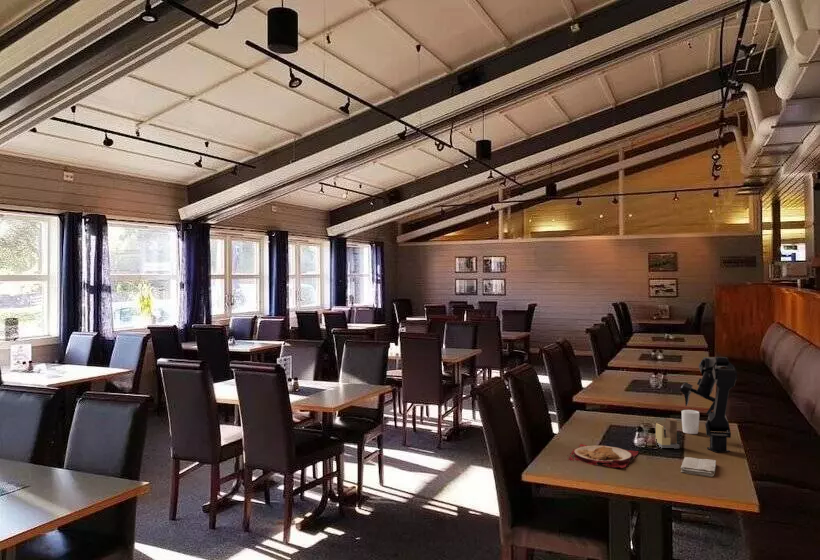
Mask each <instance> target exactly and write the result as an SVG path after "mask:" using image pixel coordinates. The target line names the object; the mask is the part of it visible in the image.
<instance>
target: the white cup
mask: <svg viewBox="0 0 820 560" xmlns="http://www.w3.org/2000/svg"><path fill="white" fill-rule="evenodd" d="M680 412H681V427H682V432H683V433H684V434H689V435H697V434H698V433H699V425H700V411H698V410H695V409H694V410H693V409H683V410H681V411H680Z"/></svg>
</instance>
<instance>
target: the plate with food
mask: <svg viewBox="0 0 820 560" xmlns="http://www.w3.org/2000/svg"><path fill="white" fill-rule="evenodd" d="M638 454H639V451H638V450H637V451H636V450H632V449H631V450H628V449H624V448H620V447H616V446H608V445H598V444H597V445H587V444H583V443H580V444H579V446H578V447H577V448H574V449H573V450H572V451H571V453H570V455H569V454H567V456H569V458H567V460H568V461H573V462H574V461H577V462H578V461H580V462H583V463H585V462H586V465H591V466H599V464H598V463H601V464H602V466H605V467H608V468H610V469H612V468H620V469H625V468H626V467H628V466H629V464H630V463H631V462H632V460H634V459H635V458H636V456H637V455H638ZM573 455H574V456H573ZM573 457H574V458H573ZM564 458H565V457H564Z"/></svg>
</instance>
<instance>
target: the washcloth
mask: <svg viewBox="0 0 820 560" xmlns="http://www.w3.org/2000/svg"><path fill="white" fill-rule="evenodd" d="M716 462H717V460H715V459H709V458H708V459H707V458H697V457H690V456H687V457H686V456H684V458H683V460H682V462H681V466H680V469H681V470H680V473H684V474H687V475H695V476H701V477H709V478H710V477H711V478H712V477H714V476H715V473H716V468H717V464H716Z"/></svg>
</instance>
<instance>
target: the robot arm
mask: <svg viewBox="0 0 820 560" xmlns="http://www.w3.org/2000/svg"><path fill="white" fill-rule="evenodd" d="M723 367H725V368H723ZM698 369H699V371H700V374H701V376H702V377H701V378H699V379H698V381H697V383H696V385H698V387H697V389H695V388H693V386H694V385H692V384H690V383H688V382H683V383H682V385H681V386H680V388H679V391H680V392H681V394H682V395H683V396H684V401H685V407H687V406H688V404H689V401H690V396H691V393H692V394H695V395H696V396H699V397H701V398H703V399H705V400H708V401H711V402H712V403H711V405H710V406H709V409H708V410H707V412H706V414H705V416H708V417H707V419H706V421H705V424H704V425H705V435H706V436H708V437H710V438H709V447H706V448H707V450H709V451H713V452H715V453H729V452H731V451H730V450H729V449H727V448H728V447H727V446H728V444H727V443H728V440H727V439H728V438H729V439H731V437H732V436H731V435H732V432H731V428H730V424H729V423H730V422H729V421H728V418H727V416H726V413H727V406H728V400H729V394H730V390H732V389H733V387H735V386H736V381H737V380H738V372H737V369H736V366H735V364H733V363H731V362H730V360H729V357H726V356H716V357H712V356H711V357H710V356H703V358H702V359H701V361H700V362H699V363H698ZM715 385H716V386H717V387H716V394H715V397H713V396H712V395H711V394H712V393H713V391H714V387H715Z"/></svg>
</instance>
